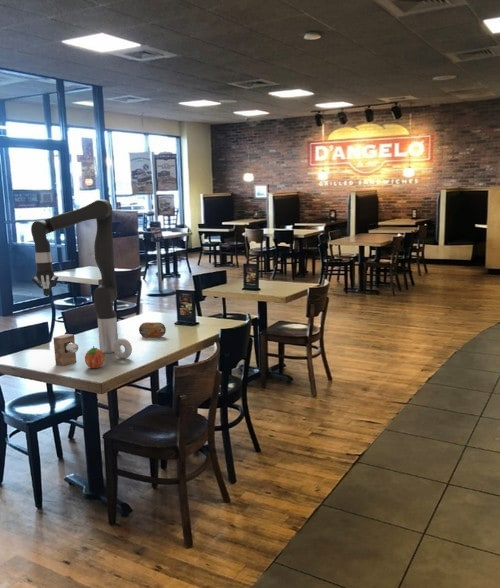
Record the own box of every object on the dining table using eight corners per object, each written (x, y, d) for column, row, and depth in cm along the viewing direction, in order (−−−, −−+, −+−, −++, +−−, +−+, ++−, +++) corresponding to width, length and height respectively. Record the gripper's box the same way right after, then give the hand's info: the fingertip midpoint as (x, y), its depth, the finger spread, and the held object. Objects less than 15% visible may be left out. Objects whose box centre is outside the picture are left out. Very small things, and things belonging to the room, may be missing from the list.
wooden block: (55, 364, 272) (53, 337, 270) (68, 360, 279) (66, 333, 277) (63, 365, 270) (60, 338, 268) (76, 361, 277) (74, 334, 274)
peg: (58, 351, 273) (57, 342, 272) (65, 349, 276) (64, 340, 276) (72, 353, 268) (71, 344, 268) (78, 351, 272) (78, 342, 271)
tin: (139, 337, 322) (138, 322, 320) (141, 336, 325) (140, 321, 323) (164, 338, 318) (163, 323, 317) (166, 336, 321) (166, 321, 320)
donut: (112, 358, 279) (111, 338, 278) (116, 357, 282) (115, 336, 281) (129, 360, 275) (128, 339, 274) (134, 358, 278) (132, 338, 277)
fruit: (107, 364, 270) (106, 343, 268) (101, 370, 260) (99, 348, 258) (89, 365, 270) (87, 343, 268) (82, 371, 261) (80, 349, 259)
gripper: (28, 262, 283) (32, 298, 285) (57, 261, 286) (60, 296, 289) (30, 261, 290) (33, 295, 292) (58, 259, 293) (61, 293, 296)
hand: (47, 296), depth 291 cm, fingers closed
